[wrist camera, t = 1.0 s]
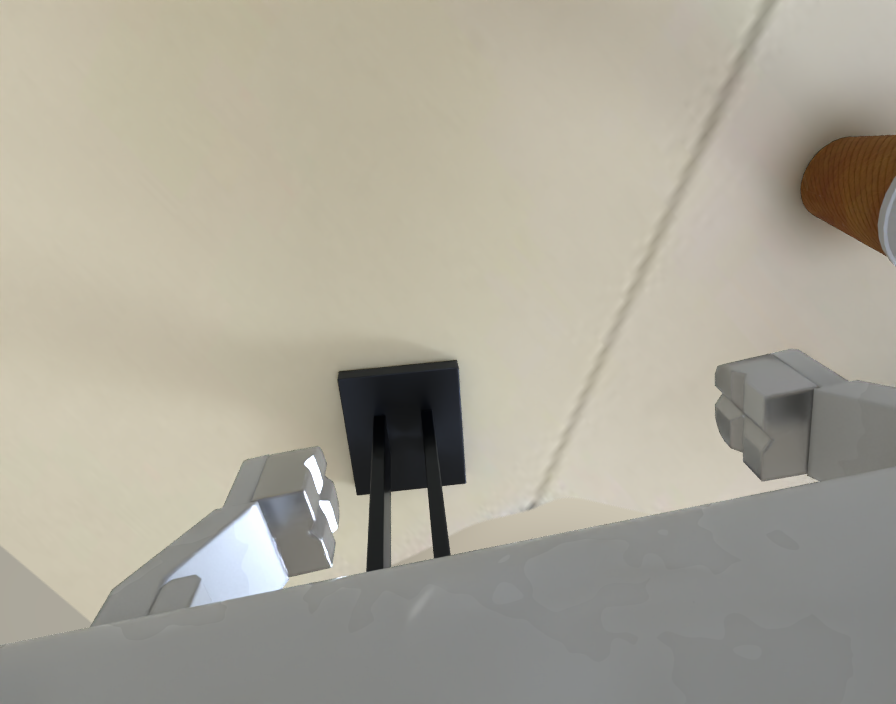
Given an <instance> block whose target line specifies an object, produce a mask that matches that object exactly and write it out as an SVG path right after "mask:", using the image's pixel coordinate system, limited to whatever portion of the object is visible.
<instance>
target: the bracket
mask: <svg viewBox="0 0 896 704" xmlns="http://www.w3.org/2000/svg"><path fill="white" fill-rule="evenodd" d="M338 385H339V391H340V397H341V403H342V409H343V415H344V421H345V427H346V433H347V439H348V445H349V451H350V457H351V463H352V469H353V475H354V481H355V487H356V493H357V495H366V494H370V504H369V526H368V547H367V568H366V572H369V571H374V570H379V569H384V568H389V567H391V492H393V491H402V490H411V489H420V488H428V499H429V509H430V520H431V531H432V542H433V552H434V558H439V557H444V556H449V555H450V547H449V539H448V531H447V523H446V515H445V507H444V500H443V492H442V486H447V485H456V484H465V483H466V474H465V459H464V444H463V428H462V413H461V398H460V382H459V367H458V363H457V360H454V361H444V362H434V363H424V364H413V365H403V366H393V367H383V368H373V369H363V370H353V371H343V372H339V374H338Z"/></svg>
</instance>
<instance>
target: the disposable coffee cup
mask: <svg viewBox="0 0 896 704" xmlns="http://www.w3.org/2000/svg"><path fill="white" fill-rule="evenodd" d="M801 197H802V201H803V204H804V206H805V207H806V209H807V210H808V211H809V212H810V213H811V214H812V215H814V216H816V217H818V218H820V219H822V220H823V221H825V222H827V223H828V224H830V225H832V226H834V227H836V228H837V229H839V230H841V231H843V232H844V233H846V234H848V235H850V236H852V237H853V238H855V239H857V240H858V241H860V242H862V243H864V244H866V245H868V246H869V247H871V248H873V249H874V250H876V251H878V252H880V253H882V254H883V255H885V256H887V257H888V259H889V260H890V261H891V262H892V263H893V264H894V265H895V266H896V135H885V136H884V135H881V136H860V137H845V138H841V139H838V140H835V141H833V142H831V143H830V144H828V145H826V146H825V147H824V148H823V149H821V150H820V151H819V152H818V153H817V154H816V155H815V157H814V158H813V159H812V160H811V162H810V163H809V165H808V167H807V168H806V170H805V173H804V176H803V179H802V183H801Z"/></svg>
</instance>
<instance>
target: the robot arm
mask: <svg viewBox="0 0 896 704" xmlns="http://www.w3.org/2000/svg"><path fill="white" fill-rule="evenodd" d="M715 386H716V387H717V388H718V389H719V390H720V391H721V392H722V395H721V396H720V398H719V399H718V401H717V402H716V404H715V418H716V422H717V426H718V429H719V432H720V434H721V436H722V438H723V439H724V441H725V442H726V443H727V444H728V446H729V447H730V448H732V449H734V450H737V451H740V452H743V462H744V463H745V464H746V465H747V466H748V467H749V468H750V469H751V470H752V471H753V472H754V473H755V474H756V476H757V477H758V478H759V479H760V480H761V481H768V480H774V479H779V478H785V477H791V476H797V475H803V474H807V476H809V477H812V478H814V479H816V480H818V481H820V482H815V483H810V484H805V485H800V486H795V487H790V488H785V489H780V490H775V491H770V492H765V493H760V494H755V495H750V496H745V497H740V498H735V499H730V500H725V501H720V502H715V503H710V504H705V505H700V506H695V507H690V508H685V509H680V510H675V511H670V512H665V513H660V514H655V515H650V516H645V517H640V518H635V519H630V520H625V521H620V522H615V523H610V524H605V525H600V526H595V527H590V528H585V529H580V530H575V531H570V532H565V533H560V534H555V535H550V536H545V537H540V538H535V539H530V540H525V541H520V542H515V543H510V544H505V545H500V546H495V547H490V548H484V549H480V550H474V551H469V552H465V553H459V554H454V555H449V556H444V557H439V558H434V559H430V560H424V561H419V562H415V563H409V564H404V565H399V566H394V567H389V568H384V569H379V570H374V571H369V572H364V573H359V574H354V575H349V576H344V577H339V578H334V579H329V580H324V581H319V582H314V583H309V584H304V585H299V586H294V587H289V588H284V589H282V588H283V586H284V585H285V584H286V583H287V581H288V580H289V578H288V577H292V576H297V575H301V574H305V573H310V572H314V571H318V570H323V569H327V568H332V563H333V557H334V551H335V544H336V542H335V539H334V536H333V532H334V531H335V530H336V529H337V528H338V524H339V503H338V498H337V493H336V489H335V486H334V483H333V481H331V480H330V479H329V478H327V477H326V476H325V472H326V467H327V462H326V459H325V457H324V454H323V451H322V449H321V448H320V447H319V446H315V447H309V448H304V449H298V450H293V451H287V452H282V453H276V454H271V455H264V456H260V457H255V458H251V459H247V460H245V461H243V463H242V465H241V467H240V470H239V472H238V474H237V476H236V479H235V481H234V483H233V485H232V488H231V490H230V492H229V494H228V497H227V499H226V501H225V503H224V506H223V508H220V509H215V510H214V511H212V512H211V513H210V514H209V515H207V516H206V517H205V518H203V519H202V520H201V521H200V522H198V523H197V524H196V525H194V526H193V527H192V528H191V529H189V530H188V531H187V532H185V533H184V534H183V535H182V536H180V537H179V538H178V539H176V540H175V541H174V542H173V543H171V544H170V545H169V546H167V547H166V548H165V549H164V550H162V551H161V552H160V553H158V554H157V555H156V556H155V557H153V558H152V559H151V560H149V561H148V562H147V563H146V564H144V565H143V566H142V567H140V568H139V569H138V570H137V571H135V572H134V573H133V574H131V575H130V576H129V577H128V578H126V579H125V580H124V581H122V582H121V583H120V584H119V585H117V586H116V587H115V588H113V589H112V591H111V592H110V594H109V596H108V597H107V599H106V601H105V602H104V604H103V606H102V608H101V609H100V611H99V613H98V614H97V616H96V618H95V619H94V621H93V623H92V624H91V626H90V627H89V628H84V629H79V630H74V631H69V632H64V633H59V634H54V635H48V636H44V637H39V638H34V639H28V640H23V641H19V642H13V643H8V644H4V645H0V704H896V388H895V387H890V386H885V385H880V384H875V383H870V382H865V381H860V380H855V381H850V382H849V381H848V380H846V379H844V378H843V377H841V376H840V375H838V374H837V373H835V372H833V371H832V370H830V369H829V368H827V367H826V366H824V365H822V364H821V363H819V362H818V361H816V360H814V359H813V358H811V357H810V356H808V355H807V354H805V353H803V352H802V351H800V350H799V349H787V350H783V351H779V352H775V353H770V354H766V355H762V356H757V357H753V358H748V359H744V360H740V361H735V362H731V363H727V364H723V365H719V366H717V369H716V372H715Z"/></svg>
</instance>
